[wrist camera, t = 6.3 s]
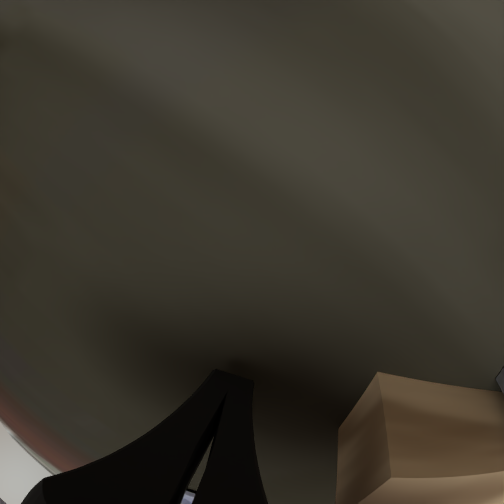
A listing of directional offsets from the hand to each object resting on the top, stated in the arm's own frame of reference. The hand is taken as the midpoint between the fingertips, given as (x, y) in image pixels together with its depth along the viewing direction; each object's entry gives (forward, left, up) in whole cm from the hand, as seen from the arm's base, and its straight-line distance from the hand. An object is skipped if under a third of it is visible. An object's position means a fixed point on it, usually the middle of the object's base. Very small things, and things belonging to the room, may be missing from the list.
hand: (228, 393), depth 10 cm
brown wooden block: (0, -10, -1) cm, 10 cm away
